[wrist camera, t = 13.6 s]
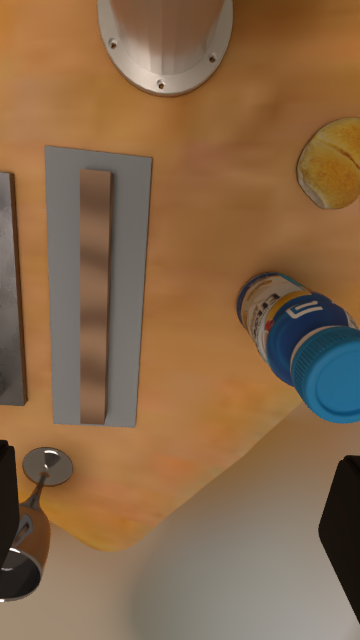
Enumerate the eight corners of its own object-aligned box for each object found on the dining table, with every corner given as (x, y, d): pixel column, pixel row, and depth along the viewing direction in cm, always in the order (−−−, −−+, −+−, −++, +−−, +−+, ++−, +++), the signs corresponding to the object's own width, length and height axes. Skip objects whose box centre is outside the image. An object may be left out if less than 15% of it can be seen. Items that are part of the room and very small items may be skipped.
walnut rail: (85, 170, 36) (79, 168, 33) (113, 173, 36) (110, 171, 34) (84, 412, 45) (80, 423, 43) (107, 413, 46) (104, 424, 43)
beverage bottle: (293, 336, 44) (392, 438, 25) (229, 332, 43) (282, 433, 24) (307, 273, 41) (430, 333, 22) (239, 267, 40) (307, 324, 22)
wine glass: (7, 467, 48) (-56, 577, 34) (43, 435, 47) (-7, 535, 33) (51, 497, 51) (8, 611, 36) (87, 466, 49) (57, 574, 35)
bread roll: (389, 159, 38) (414, 154, 34) (327, 220, 39) (344, 222, 36) (344, 99, 35) (366, 87, 32) (281, 167, 37) (294, 163, 33)
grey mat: (46, 146, 35) (44, 145, 35) (151, 158, 36) (151, 157, 35) (54, 421, 46) (53, 423, 46) (135, 424, 47) (135, 427, 46)
